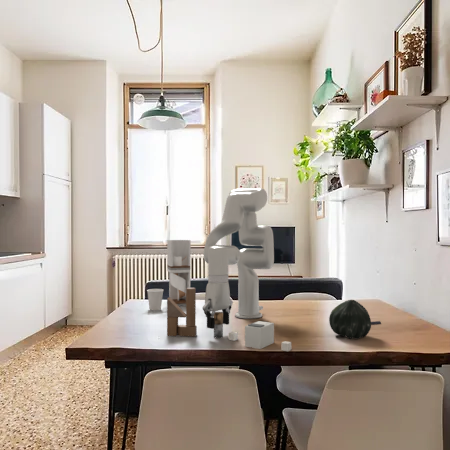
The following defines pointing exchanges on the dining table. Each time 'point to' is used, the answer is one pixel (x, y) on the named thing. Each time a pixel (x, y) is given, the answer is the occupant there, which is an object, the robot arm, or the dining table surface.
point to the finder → (259, 334)
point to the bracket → (375, 322)
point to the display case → (178, 269)
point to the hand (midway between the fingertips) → (218, 325)
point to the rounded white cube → (233, 336)
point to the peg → (218, 324)
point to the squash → (350, 320)
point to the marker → (286, 346)
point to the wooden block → (176, 312)
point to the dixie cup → (155, 299)
